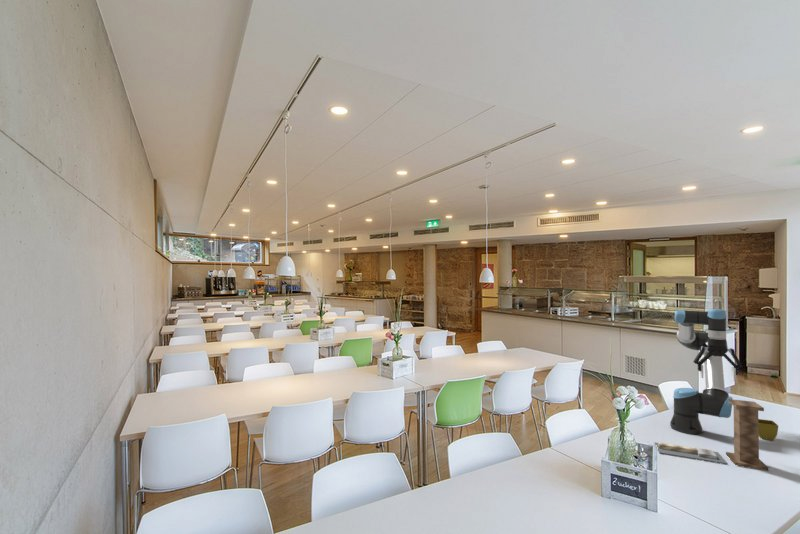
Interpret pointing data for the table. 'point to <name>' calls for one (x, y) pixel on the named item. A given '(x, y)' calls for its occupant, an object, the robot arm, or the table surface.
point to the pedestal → (746, 435)
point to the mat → (691, 455)
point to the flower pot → (767, 429)
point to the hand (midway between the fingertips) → (717, 378)
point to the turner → (689, 450)
